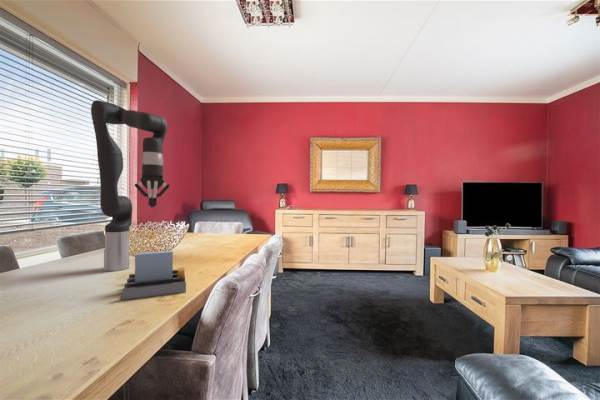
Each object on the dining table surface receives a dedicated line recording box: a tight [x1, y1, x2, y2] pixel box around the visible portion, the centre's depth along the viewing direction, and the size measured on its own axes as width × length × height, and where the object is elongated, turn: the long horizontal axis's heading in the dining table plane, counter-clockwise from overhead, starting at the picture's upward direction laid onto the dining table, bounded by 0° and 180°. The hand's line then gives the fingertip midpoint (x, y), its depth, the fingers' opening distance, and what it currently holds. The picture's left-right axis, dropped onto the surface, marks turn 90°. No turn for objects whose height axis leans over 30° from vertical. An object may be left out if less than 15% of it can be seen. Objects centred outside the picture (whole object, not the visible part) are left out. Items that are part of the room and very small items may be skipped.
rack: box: [121, 267, 187, 302], centre depth 100 cm, size 19×18×6 cm
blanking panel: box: [134, 250, 174, 282], centre depth 100 cm, size 12×3×12 cm, turn 116°
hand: (152, 207), depth 110 cm, fingers closed
